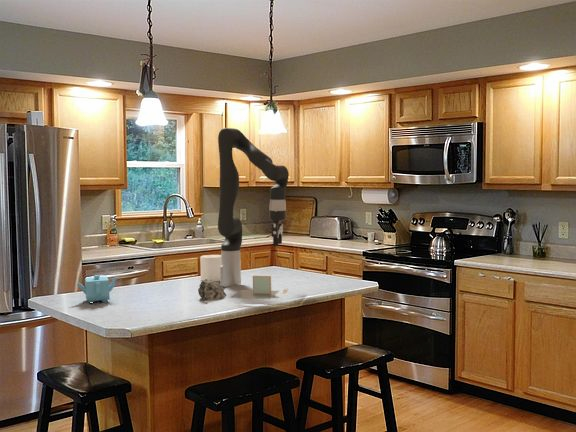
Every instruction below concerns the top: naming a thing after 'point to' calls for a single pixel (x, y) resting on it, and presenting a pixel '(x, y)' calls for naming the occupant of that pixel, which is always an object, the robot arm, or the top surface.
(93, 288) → the teapot
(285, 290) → the turner
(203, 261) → the cup
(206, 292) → the rock
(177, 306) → the top surface
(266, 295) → the board
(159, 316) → the top surface
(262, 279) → the tile
